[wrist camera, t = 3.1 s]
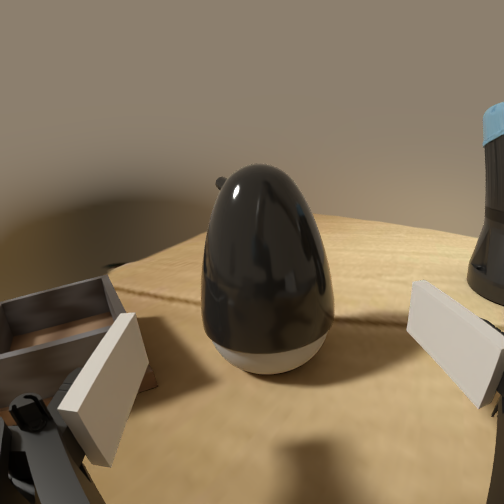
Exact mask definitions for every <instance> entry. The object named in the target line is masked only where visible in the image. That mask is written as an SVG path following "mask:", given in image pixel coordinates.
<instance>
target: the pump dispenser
mask: <svg viewBox="0 0 504 504" xmlns="http://www.w3.org/2000/svg"><path fill="white" fill-rule="evenodd" d="M216 187H217V188H218V189H219V190H220V192H219V194H218V197H217V199H216V202H215V205H214V207H213V211H212V214H211V217H210V222H209V225H208V230H207V236H206V241H205V248H204V255H203V263H202V275H201V313H202V321H203V327H204V330H205V333H206V334H207V336H208V337H209V338H210V339H211V340H212V342H213V344H214V345H215V347H216V349H217V350H218V351H219V353H220V354H221V355H222V356H223V357H224V358H225V359H226V360H227V361H228V362H230V363H231V364H232V365H234V366H236V367H238V368H240V369H242V370H245V371H248V372H251V373H256V374H277V373H283V372H287V371H290V370H293V369H295V368H297V367H299V366H301V365H303V364H304V363H306V362H307V361H308V360H310V359H311V358H312V357H313V356H314V355H315V354H316V353H317V352H318V350H319V349H320V347H321V346H322V344H323V342H324V340H325V338H326V335H327V333H328V330H329V329H330V328H331V326H332V324H333V321H334V294H333V287H332V280H331V274H330V269H329V264H328V260H327V256H326V252H325V249H324V245H323V242H322V239H321V236H320V233H319V230H318V227H317V225H316V222H315V219H314V217H313V214H312V212H311V210H310V208H309V205H308V203H307V201H306V200H305V198H304V196H303V194H302V192H301V191H300V189H299V188H298V187H297V185H296V184H295V182H294V181H293V180H292V179H291V177H290V176H289V175H288V174H286V173H285V172H284V171H282V170H281V169H279V168H277V167H274V166H272V165H267V164H257V163H256V164H251V165H248V166H245V167H243V168H240V169H239V170H237V171H235V172H234V173H233V174H232V175H231V176H230V177H229V178H228V179H227V178H225V177H219V178H218V179H217V180H216Z"/></svg>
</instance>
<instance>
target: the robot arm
mask: <svg viewBox="0 0 504 504" xmlns="http://www.w3.org/2000/svg"><path fill="white" fill-rule="evenodd" d="M483 132H484V142H483V148H485V164H486V197H485V221H484V225H483V228H482V231H481V234H480V236H479V239H478V241H477V244H476V247H475V249H474V252H473V254H472V257H471V259H470V261H469V266H468V274H467V282H468V284H469V286H470V287H471V288H472V289H473V290H474V291H475V292H477V293H478V294H480V295H481V296H483V297H485V298H487V299H489V300H491V301H493V302H496V303H499V304H501V305H504V102H502V103H498V104H496V105H494V106H492V107H490V108H489V109H488V110H487V111H486V112H485V114H484V116H483ZM407 332H408V333H409V334H410V335H411V336H412V337H413V338H414V339H415V340H416V341H417V342H418V343H419V344H420V345H421V347H422V348H423V349H424V350H425V351H426V352H427V353H428V354H429V355H430V356H431V357H432V358H433V359H434V360H435V362H436V363H437V364H438V365H439V366H440V367H441V368H442V369H443V370H444V371H445V372H446V374H447V375H448V376H449V377H450V378H451V379H452V380H453V381H454V382H455V384H456V385H457V386H458V387H459V388H460V389H461V390H462V391H463V393H464V394H465V395H466V396H467V397H468V398H469V399H470V401H471V402H472V403H473V404H474V405H475V406H476V407H477V409H480V408H482V407H484V406H486V405H488V404H490V403H491V402H492V400H493V397H494V395H495V393H496V391H498V392H499V393H500V394H501V396H500V398H499V400H498V402H497V405H496V407H495V409H494V411H493V413H492V416H491V417H494V415H495V413H496V412H497V411H498V415H497V417H498V418H497V435H496V446H495V455H494V463H493V470H492V476H491V482H490V488H489V493H488V498H487V502H486V504H504V332H501V330H500V329H498V328H497V327H495V326H494V325H493V324H491V323H490V322H489V321H487V320H485V319H482V318H480V317H478V316H476V315H475V314H474V313H472V312H471V311H469V310H468V309H467V308H465V307H464V306H462V305H461V304H460V303H458V302H457V301H455V300H454V299H452V298H451V297H450V296H448V295H447V294H445V293H444V292H442V291H441V290H439V289H438V288H436V287H435V286H433V285H432V284H430V283H429V282H427V281H426V280H420V281H415V282H412V292H411V301H410V309H409V317H408V324H407ZM148 364H149V360H148V357H147V354H146V350H145V347H144V343H143V340H142V336H141V332H140V329H139V325H138V321H137V317H136V313H120V315H119V316H118V317H117V319H116V320H115V322H114V323H113V325H112V326H111V327H110V329H109V330H108V332H107V333H106V335H105V336H104V338H103V339H102V340H101V342H100V343H99V345H98V346H97V348H96V349H95V351H94V352H93V354H92V355H91V357H90V358H89V360H88V361H87V363H86V364H85V366H84V367H83V368H79V367H78V368H76V369H75V370H74V371H72V372H71V373H70V374H69V375H68V376H67V378H66V379H65V380H64V382H63V384H62V385H61V386H60V388H59V391H57V392H56V394H55V395H54V397H53V398H52V400H51V402H50V403H49V405H48V406H47V407H46V405H45V403H44V401H43V400H42V398H41V396H40V395H38V394H36V393H25V394H22V395H20V396H18V397H16V398H15V399H14V400H13V401H12V402H11V404H10V405H9V413H10V414H11V416H12V417H13V419H14V421H15V422H16V424H17V425H18V426H7V425H6V423H5V422H4V420H3V419H2V417H0V504H106V503H105V502H104V500H103V498H102V497H101V495H100V493H99V491H98V490H97V488H96V486H95V484H94V482H93V481H92V479H91V477H90V475H89V473H88V471H87V469H86V467H85V466H84V464H83V463H82V461H83V459H84V456H85V455H86V456H87V458H88V459H89V461H90V462H91V463H92V464H93V465H99V466H105V467H111V466H112V463H113V460H114V457H115V454H116V451H117V448H118V445H119V442H120V440H121V437H122V434H123V431H124V428H125V425H126V422H127V420H128V417H129V414H130V411H131V409H132V406H133V403H134V400H135V398H136V395H137V392H138V390H139V387H140V384H141V382H142V379H143V377H144V374H145V371H146V369H147V366H148Z"/></svg>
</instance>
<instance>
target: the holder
mask: <svg viewBox="0 0 504 504" xmlns="http://www.w3.org/2000/svg"><path fill="white" fill-rule="evenodd" d="M120 313H126V311H125V309H124V307H123V305H122V303H121V301H120V299H119V297H118V295H117V293H116V291H115V289H114V287H113V285H112V283H111V281H110V279H109V277H108V275H103V276H99V277H95V278H91V279H87V280H83V281H79V282H75V283H72V284H68V285H64V286H60V287H56V288H53V289H48V290H44V291H41V292H37V293H33V294H29V295H25V296H21V297H18V298H14V299H10V300H6V301H2V302H0V417H2V419H3V420H4V422H5V423H6V425H7V426H13V425H17V424H16V422H15V421H14V419H13V417H12V416H11V414H10V413H9V405H10V404H11V402H12V401H13V400H14V399H15V398H16V397H18V396H20V395H22V394H25V393H36V394H38V395H40V396H41V398H42V400H43V401H44V403H45V405H46V407H47V406H48V405H49V403H50V402H51V400H52V398H53V397H54V395H55V394H56V392H57V391H59V388H60V386H61V385H62V384H63V382H64V380H65V379H66V378H67V376H68V375H69V374H70V373H71V372H72V371H74V370H75V369H76V368H78V367H79V368H83V367H84V366H85V364H86V363H87V361H88V360H89V358H90V357H91V355H92V354H93V352H94V351H95V349H96V348H97V346H98V345H99V343H100V342H101V340H102V339H103V338H104V336H105V335H106V333H107V332H108V330H109V329H110V327H111V326H112V325H113V323H114V322H115V320H116V319H117V317H118V316H119V315H120ZM157 386H158V385H157V382H156V379H155V376H154V373H153V370H152V369H151V367H150V365H149V364H148V366H147V369H146V371H145V374H144V377H143V379H142V382H141V384H140V387H139V390H138V392H137V393H139V392H142V391H145V390H148V389H151V388H154V387H157Z"/></svg>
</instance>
